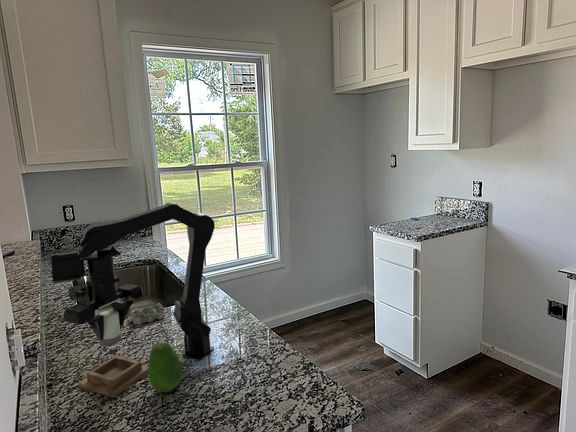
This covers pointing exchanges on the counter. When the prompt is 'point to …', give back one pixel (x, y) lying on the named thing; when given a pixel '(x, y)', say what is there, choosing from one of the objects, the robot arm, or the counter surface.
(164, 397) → the counter surface
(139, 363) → the holder
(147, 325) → the counter surface
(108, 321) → the white rounded cylinder
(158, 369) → the avocado
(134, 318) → the egg carton
